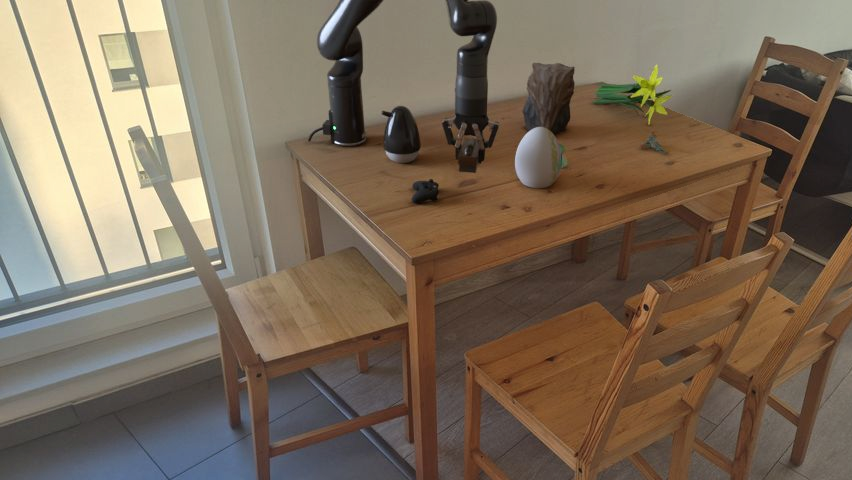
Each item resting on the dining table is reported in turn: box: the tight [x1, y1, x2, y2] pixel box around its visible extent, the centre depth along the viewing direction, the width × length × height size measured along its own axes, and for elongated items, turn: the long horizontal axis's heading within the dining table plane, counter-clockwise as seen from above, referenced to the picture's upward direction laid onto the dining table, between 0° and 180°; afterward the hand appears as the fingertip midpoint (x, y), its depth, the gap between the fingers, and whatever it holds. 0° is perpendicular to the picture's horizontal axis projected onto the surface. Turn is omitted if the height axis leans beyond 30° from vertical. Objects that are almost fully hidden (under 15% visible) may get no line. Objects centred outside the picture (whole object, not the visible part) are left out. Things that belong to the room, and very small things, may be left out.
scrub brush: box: [457, 137, 479, 174], centre depth 165 cm, size 12×4×5 cm, turn 175°
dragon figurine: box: [639, 129, 667, 155], centre depth 202 cm, size 6×7×8 cm
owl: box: [522, 62, 576, 137], centre depth 209 cm, size 13×13×20 cm
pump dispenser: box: [380, 105, 422, 164], centre depth 185 cm, size 10×10×15 cm
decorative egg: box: [514, 127, 563, 189], centre depth 176 cm, size 12×12×15 cm
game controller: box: [411, 178, 440, 204], centre depth 169 cm, size 10×5×6 cm
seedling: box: [558, 142, 569, 169], centre depth 191 cm, size 7×8×7 cm
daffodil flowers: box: [592, 63, 674, 126], centre depth 225 cm, size 17×15×35 cm
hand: (469, 161), depth 166 cm, fingers closed on scrub brush, 4 cm apart
